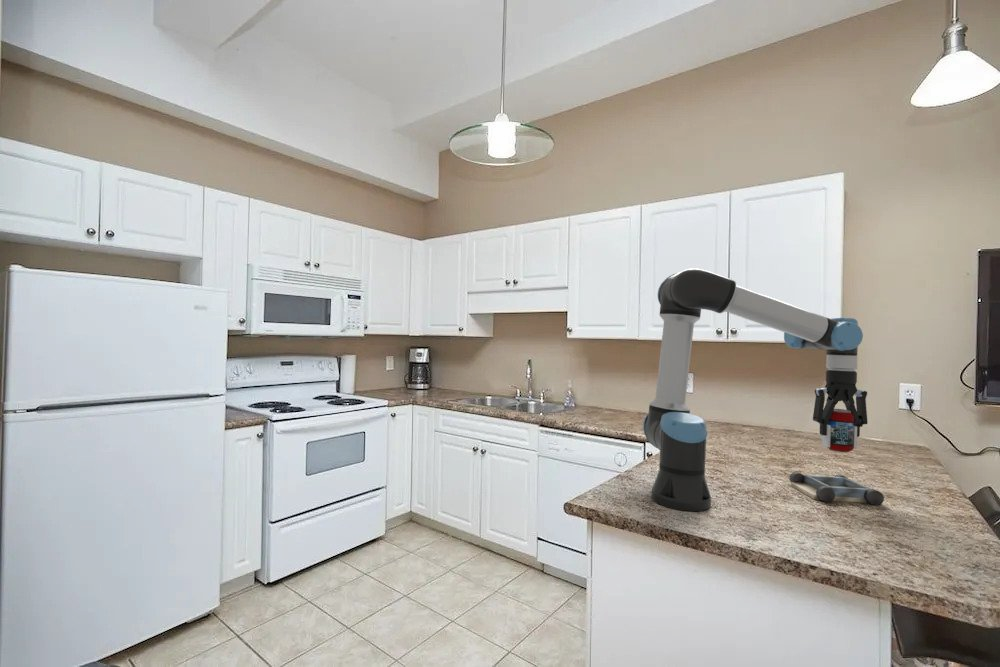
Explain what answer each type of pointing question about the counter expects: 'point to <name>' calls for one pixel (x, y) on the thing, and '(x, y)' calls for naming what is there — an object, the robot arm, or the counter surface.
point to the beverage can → (841, 430)
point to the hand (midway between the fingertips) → (839, 446)
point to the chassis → (834, 489)
